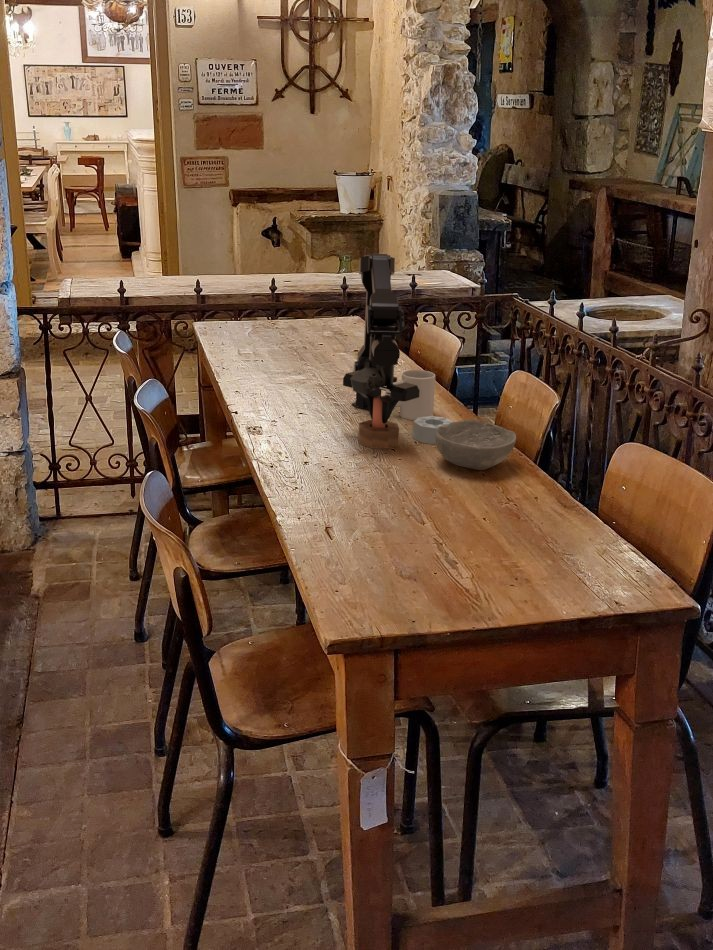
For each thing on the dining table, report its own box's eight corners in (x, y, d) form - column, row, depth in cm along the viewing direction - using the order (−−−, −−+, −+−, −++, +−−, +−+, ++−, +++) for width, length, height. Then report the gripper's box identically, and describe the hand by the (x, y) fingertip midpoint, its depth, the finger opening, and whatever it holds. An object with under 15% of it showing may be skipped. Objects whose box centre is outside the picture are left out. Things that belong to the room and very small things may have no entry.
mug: (425, 410, 267) (428, 369, 263) (438, 419, 259) (441, 377, 256) (382, 412, 263) (384, 371, 260) (393, 422, 256) (395, 379, 252)
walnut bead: (375, 433, 247) (376, 417, 245) (405, 442, 241) (406, 426, 240) (351, 441, 240) (351, 425, 239) (380, 450, 235) (381, 434, 233)
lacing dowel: (377, 432, 242) (379, 395, 239) (387, 435, 240) (389, 398, 237) (369, 435, 240) (370, 398, 237) (379, 438, 238) (380, 400, 235)
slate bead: (419, 430, 250) (420, 414, 249) (456, 435, 248) (457, 419, 246) (409, 441, 242) (410, 424, 241) (446, 446, 240) (448, 429, 238)
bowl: (460, 484, 216) (463, 448, 214) (417, 458, 231) (419, 424, 228) (530, 473, 224) (533, 438, 222) (484, 449, 239) (487, 416, 236)
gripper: (327, 353, 234) (325, 419, 239) (391, 369, 222) (387, 438, 228) (359, 346, 242) (357, 410, 247) (422, 361, 230) (418, 427, 236)
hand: (379, 421), depth 239 cm, fingers closed on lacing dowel, 3 cm apart
